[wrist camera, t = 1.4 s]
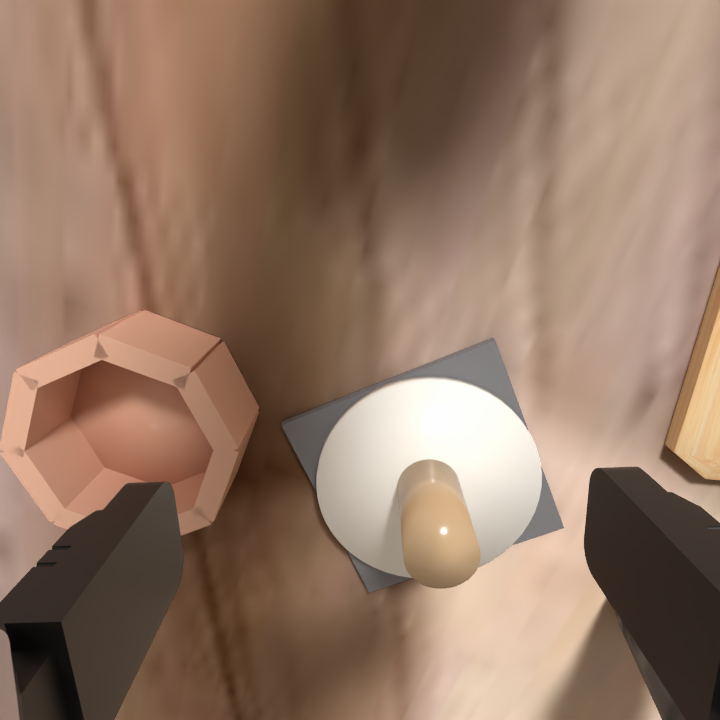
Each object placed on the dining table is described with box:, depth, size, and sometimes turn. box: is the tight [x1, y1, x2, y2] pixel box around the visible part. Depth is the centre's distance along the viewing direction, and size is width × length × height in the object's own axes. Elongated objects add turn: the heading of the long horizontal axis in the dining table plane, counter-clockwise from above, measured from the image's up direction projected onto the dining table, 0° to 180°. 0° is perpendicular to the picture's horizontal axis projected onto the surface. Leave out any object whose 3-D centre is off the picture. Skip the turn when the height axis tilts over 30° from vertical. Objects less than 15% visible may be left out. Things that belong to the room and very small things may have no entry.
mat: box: [281, 338, 564, 593], centre depth 31 cm, size 13×13×1 cm
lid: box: [316, 376, 542, 588], centre depth 27 cm, size 13×13×7 cm
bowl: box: [0, 310, 259, 536], centre depth 28 cm, size 11×11×5 cm
